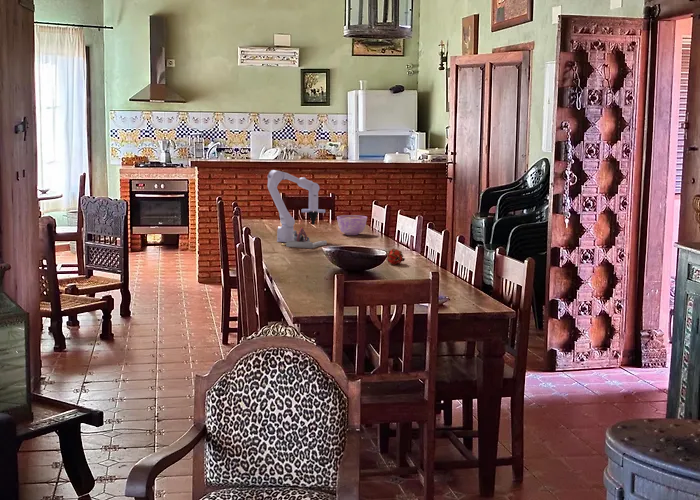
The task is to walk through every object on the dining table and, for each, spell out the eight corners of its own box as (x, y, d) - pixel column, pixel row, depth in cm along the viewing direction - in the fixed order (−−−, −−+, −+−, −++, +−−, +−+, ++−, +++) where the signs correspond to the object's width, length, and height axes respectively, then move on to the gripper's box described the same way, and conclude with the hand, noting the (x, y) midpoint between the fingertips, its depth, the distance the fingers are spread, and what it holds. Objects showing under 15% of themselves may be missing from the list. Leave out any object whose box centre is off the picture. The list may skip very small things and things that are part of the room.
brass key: (283, 246, 497) (283, 244, 497) (280, 245, 499) (280, 243, 499) (291, 245, 502) (291, 243, 502) (288, 244, 504) (288, 242, 504)
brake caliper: (307, 244, 489) (296, 226, 491) (294, 254, 494) (283, 237, 496) (316, 241, 500) (305, 224, 501) (303, 251, 504) (292, 235, 506)
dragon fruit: (393, 264, 445) (398, 272, 434) (381, 255, 443) (386, 262, 431) (403, 252, 444) (409, 259, 433) (391, 243, 441) (396, 249, 430)
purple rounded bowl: (331, 235, 548) (331, 217, 546) (343, 231, 566) (343, 214, 565) (360, 237, 541) (360, 219, 539) (371, 233, 559) (371, 216, 557)
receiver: (283, 246, 495) (283, 240, 494) (297, 242, 512) (297, 236, 511) (314, 248, 487) (314, 242, 487) (327, 244, 505) (327, 238, 504)
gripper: (300, 202, 516) (300, 224, 518) (324, 203, 514) (324, 225, 516) (302, 201, 523) (302, 223, 525) (325, 202, 521) (325, 224, 523)
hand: (313, 224), depth 521 cm, fingers closed
